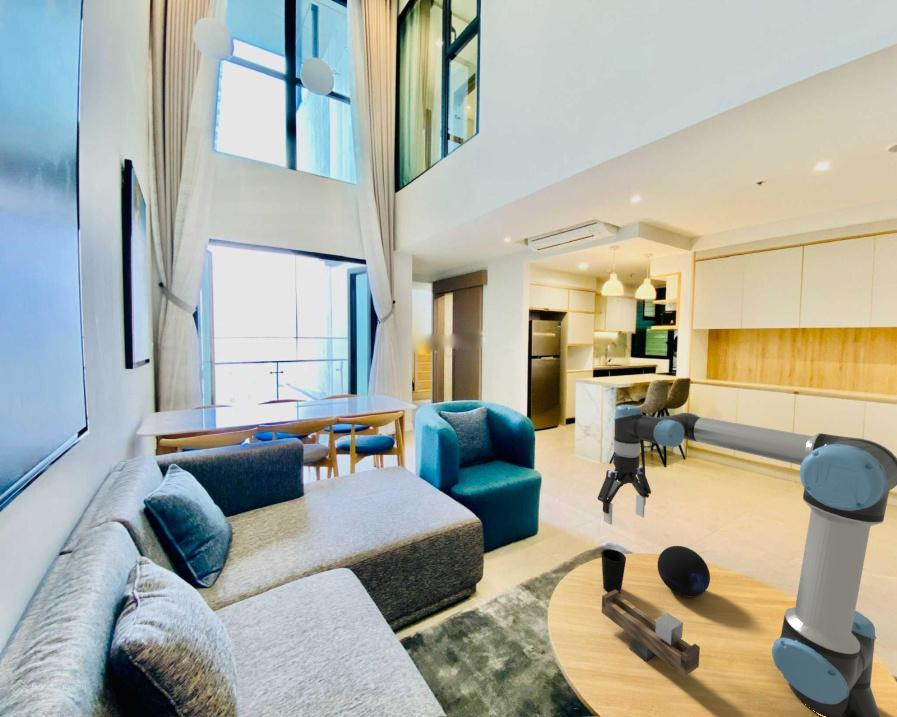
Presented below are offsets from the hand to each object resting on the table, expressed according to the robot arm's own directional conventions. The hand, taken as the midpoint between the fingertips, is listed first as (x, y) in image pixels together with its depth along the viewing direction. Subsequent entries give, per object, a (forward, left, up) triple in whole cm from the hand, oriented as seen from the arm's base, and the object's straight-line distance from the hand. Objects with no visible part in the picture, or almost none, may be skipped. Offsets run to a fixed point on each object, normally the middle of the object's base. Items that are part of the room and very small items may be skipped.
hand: (624, 519), depth 121 cm
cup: (+5, -2, -28) cm, 28 cm away
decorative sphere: (-7, -22, -28) cm, 36 cm away
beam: (-16, +12, -27) cm, 34 cm away
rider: (-22, +12, -21) cm, 33 cm away
